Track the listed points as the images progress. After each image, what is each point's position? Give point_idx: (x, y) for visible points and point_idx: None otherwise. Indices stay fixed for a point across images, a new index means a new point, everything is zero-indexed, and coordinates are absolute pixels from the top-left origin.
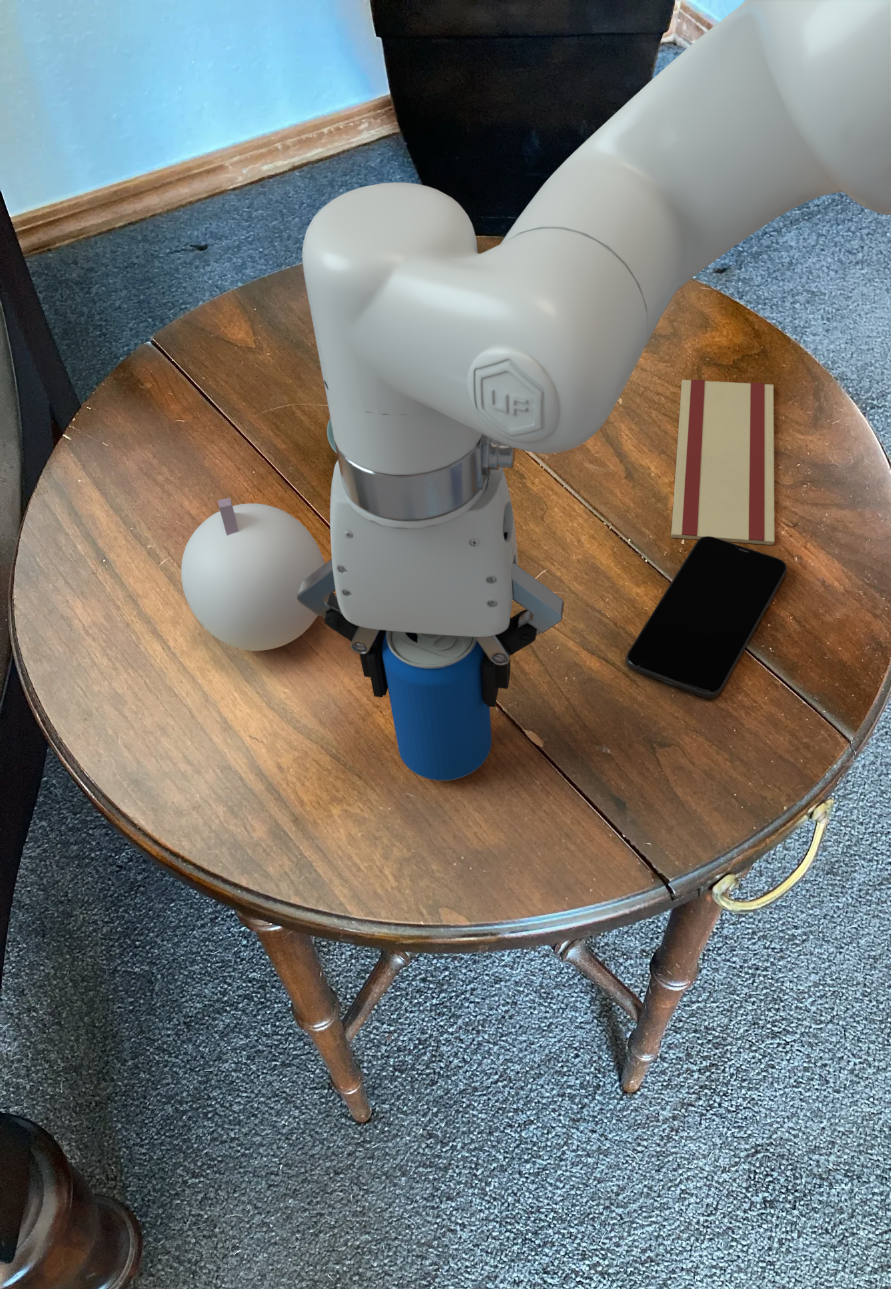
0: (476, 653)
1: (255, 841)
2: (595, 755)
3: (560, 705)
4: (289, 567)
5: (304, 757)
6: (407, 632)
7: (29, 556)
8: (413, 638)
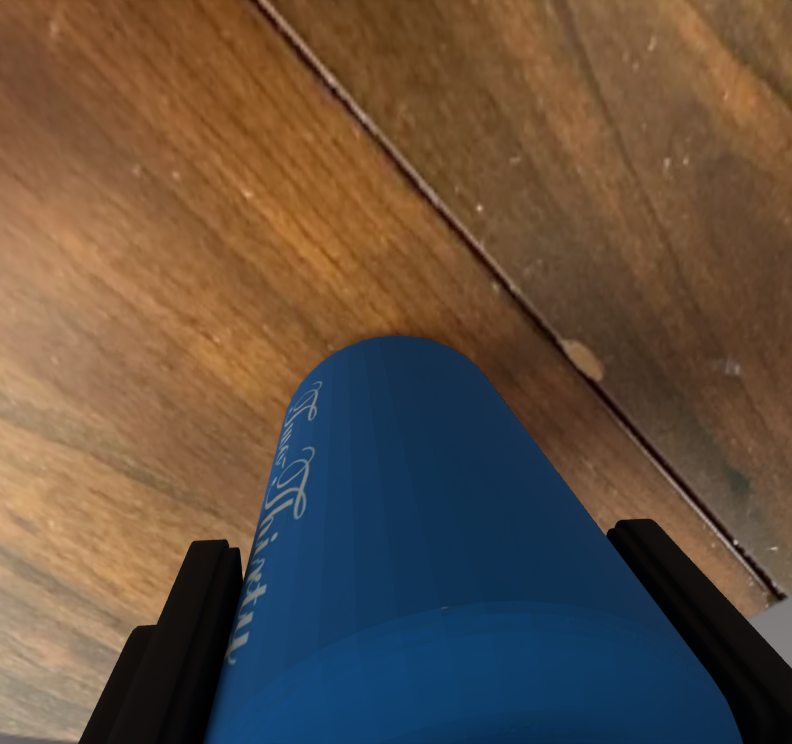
0: None
1: (55, 674)
2: (709, 384)
3: (646, 256)
4: None
5: (66, 488)
6: (279, 578)
7: None
8: (305, 527)
